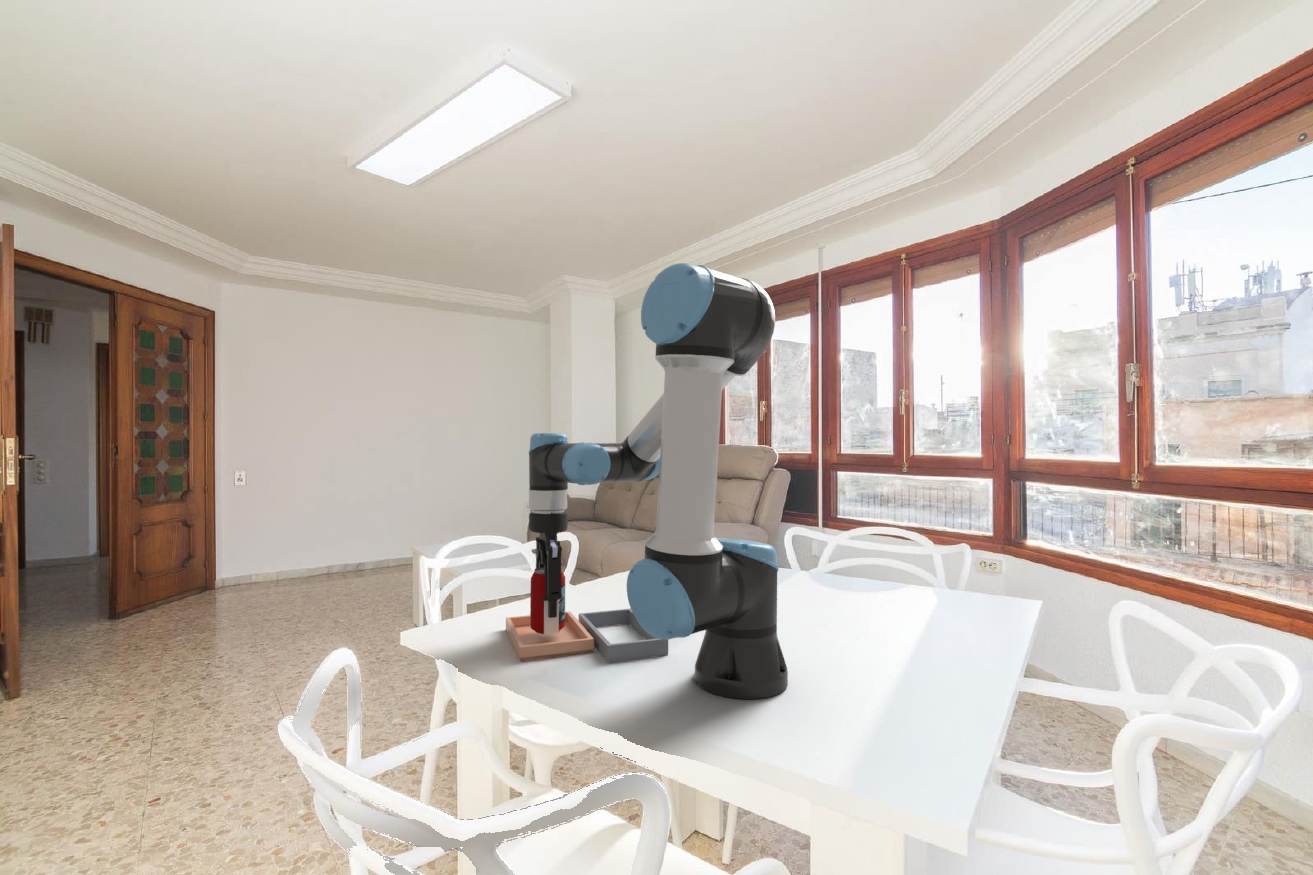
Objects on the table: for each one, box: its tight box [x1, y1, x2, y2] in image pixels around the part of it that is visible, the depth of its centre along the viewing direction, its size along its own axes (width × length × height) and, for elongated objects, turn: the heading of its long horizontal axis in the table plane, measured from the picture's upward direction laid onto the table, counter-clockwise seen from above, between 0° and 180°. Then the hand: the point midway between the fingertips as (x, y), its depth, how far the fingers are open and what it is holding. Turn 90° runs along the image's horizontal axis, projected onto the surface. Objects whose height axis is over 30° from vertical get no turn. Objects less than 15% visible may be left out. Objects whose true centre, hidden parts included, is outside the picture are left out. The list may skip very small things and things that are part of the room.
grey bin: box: [578, 607, 669, 664], centre depth 119 cm, size 22×12×3 cm, turn 21°
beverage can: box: [529, 567, 566, 634], centre depth 119 cm, size 7×7×12 cm
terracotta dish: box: [505, 611, 595, 662], centre depth 119 cm, size 20×14×2 cm
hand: (547, 627), depth 119 cm, fingers closed on beverage can, 7 cm apart
